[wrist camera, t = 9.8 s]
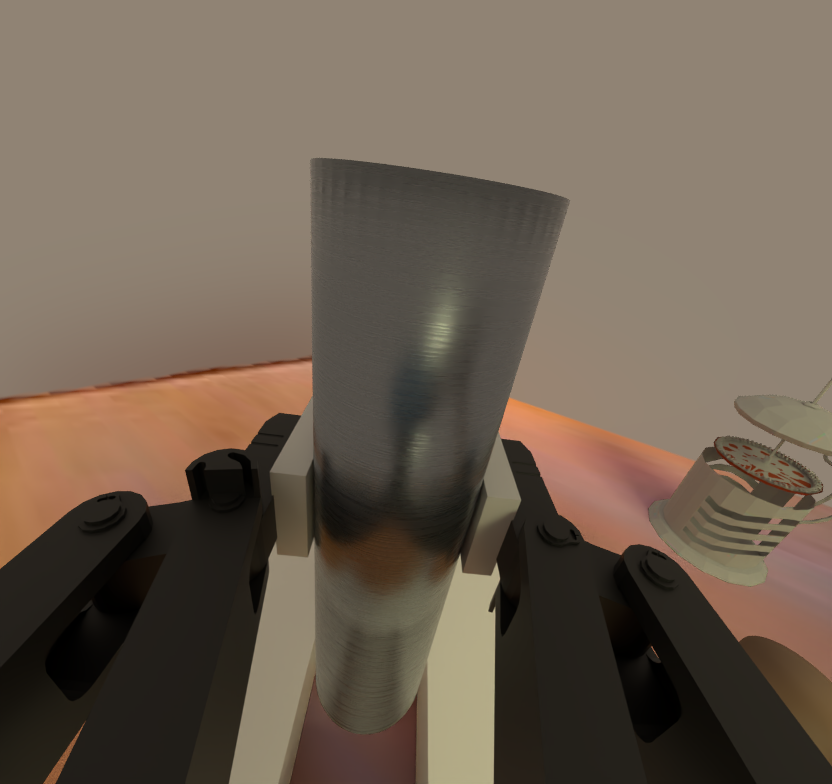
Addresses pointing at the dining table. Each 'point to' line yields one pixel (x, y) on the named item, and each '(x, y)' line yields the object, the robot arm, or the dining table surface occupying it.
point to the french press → (732, 504)
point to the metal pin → (407, 403)
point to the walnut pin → (796, 687)
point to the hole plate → (436, 697)
